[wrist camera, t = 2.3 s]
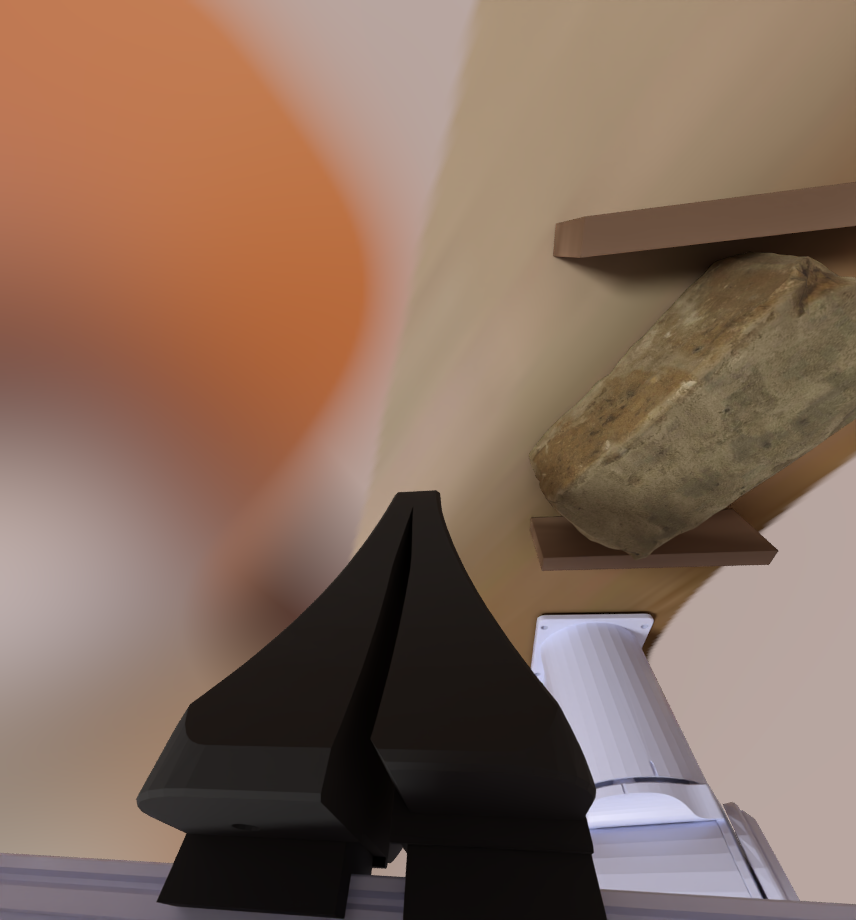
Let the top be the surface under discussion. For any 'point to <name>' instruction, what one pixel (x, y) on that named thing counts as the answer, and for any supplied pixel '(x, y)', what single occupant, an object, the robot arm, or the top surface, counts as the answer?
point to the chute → (673, 226)
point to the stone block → (706, 402)
